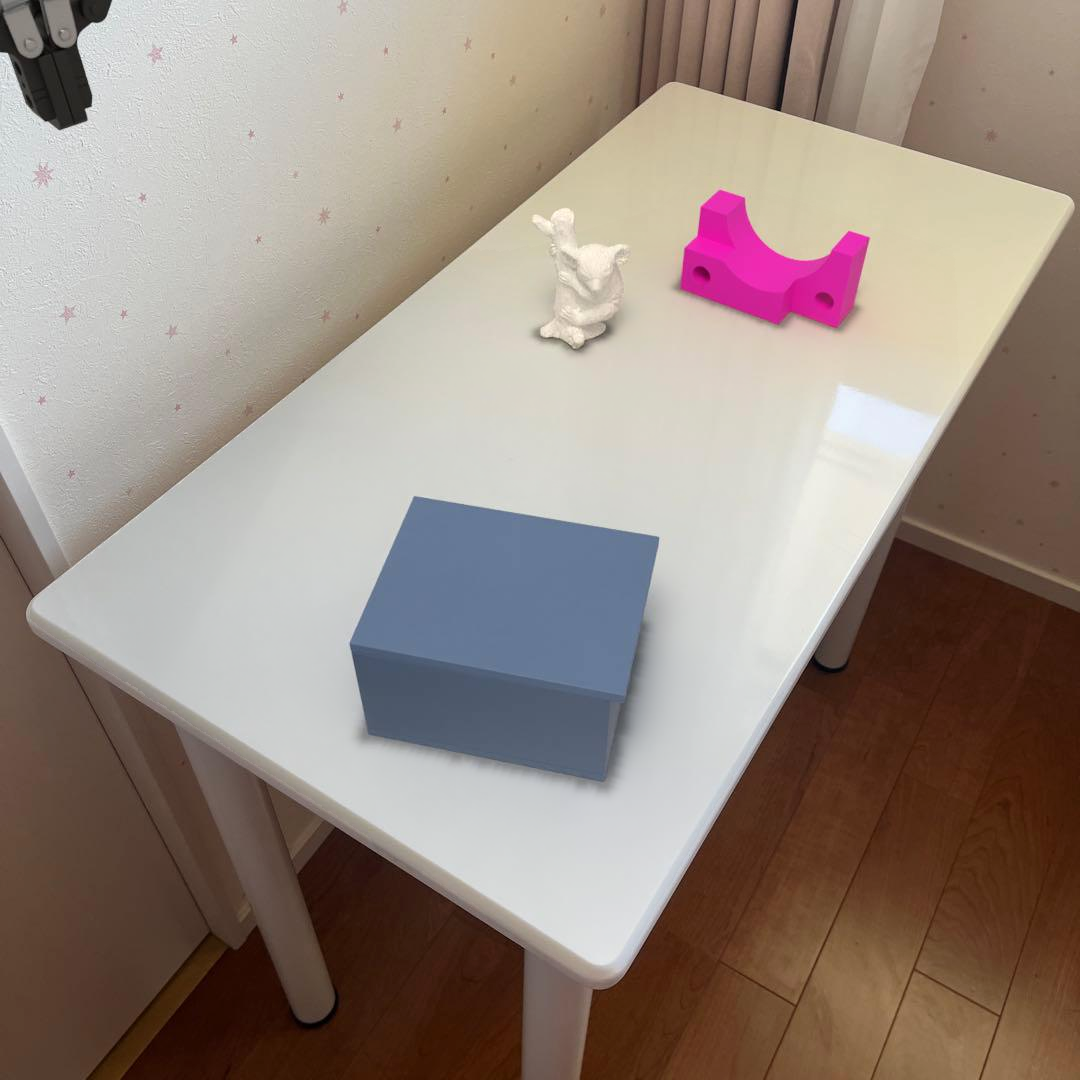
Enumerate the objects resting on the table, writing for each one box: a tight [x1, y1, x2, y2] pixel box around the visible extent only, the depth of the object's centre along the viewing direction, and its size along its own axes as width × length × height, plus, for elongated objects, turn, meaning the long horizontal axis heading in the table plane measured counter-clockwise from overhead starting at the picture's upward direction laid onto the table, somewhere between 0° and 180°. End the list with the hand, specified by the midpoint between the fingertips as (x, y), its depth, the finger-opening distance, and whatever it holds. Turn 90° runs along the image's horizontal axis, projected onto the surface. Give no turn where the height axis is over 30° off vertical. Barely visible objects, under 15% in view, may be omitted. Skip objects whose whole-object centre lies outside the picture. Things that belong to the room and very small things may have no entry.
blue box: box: [350, 650, 622, 782], centre depth 71 cm, size 16×13×9 cm
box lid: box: [348, 495, 660, 704], centre depth 68 cm, size 16×13×1 cm
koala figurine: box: [531, 207, 631, 350], centre depth 97 cm, size 8×7×12 cm
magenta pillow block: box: [679, 189, 871, 329], centre depth 102 cm, size 15×6×8 cm, turn 56°
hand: (65, 120), depth 55 cm, fingers closed
